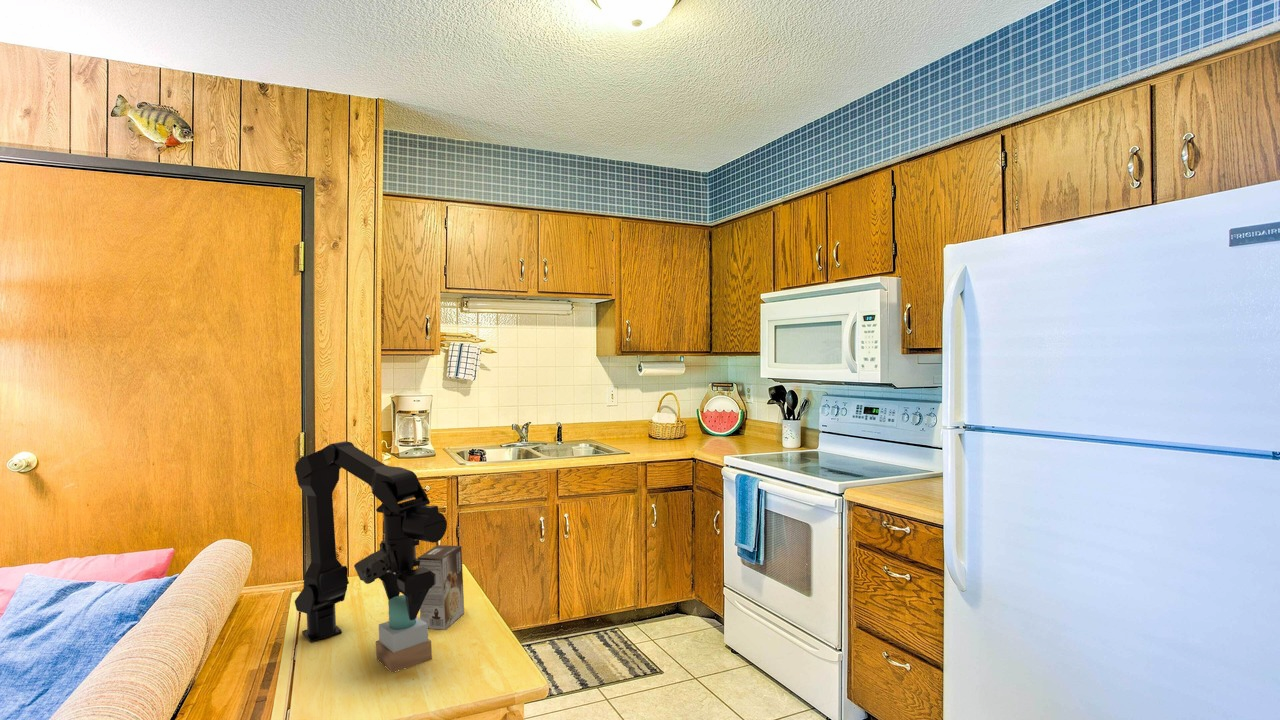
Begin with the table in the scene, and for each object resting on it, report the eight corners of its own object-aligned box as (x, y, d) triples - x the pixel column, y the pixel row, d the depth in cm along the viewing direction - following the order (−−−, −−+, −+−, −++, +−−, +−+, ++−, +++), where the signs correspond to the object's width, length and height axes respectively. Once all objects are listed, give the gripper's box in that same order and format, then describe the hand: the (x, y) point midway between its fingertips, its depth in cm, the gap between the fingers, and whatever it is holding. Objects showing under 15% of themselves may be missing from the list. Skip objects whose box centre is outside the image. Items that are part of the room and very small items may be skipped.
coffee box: (439, 611, 159) (437, 544, 158) (465, 613, 157) (462, 545, 157) (419, 628, 150) (416, 557, 149) (446, 630, 148) (443, 558, 148)
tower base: (376, 660, 136) (375, 641, 136) (415, 647, 141) (414, 628, 141) (392, 674, 130) (391, 654, 130) (431, 660, 135) (431, 640, 135)
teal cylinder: (385, 624, 135) (384, 599, 135) (409, 617, 139) (408, 592, 138) (395, 632, 131) (394, 606, 131) (420, 624, 135) (419, 599, 135)
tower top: (379, 641, 135) (378, 624, 135) (412, 630, 140) (412, 613, 140) (393, 653, 130) (392, 635, 130) (428, 641, 135) (427, 623, 135)
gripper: (341, 534, 136) (344, 611, 136) (377, 555, 122) (380, 640, 123) (396, 523, 143) (398, 596, 144) (435, 541, 129) (438, 622, 130)
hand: (402, 612), depth 135 cm, fingers open, 9 cm apart
